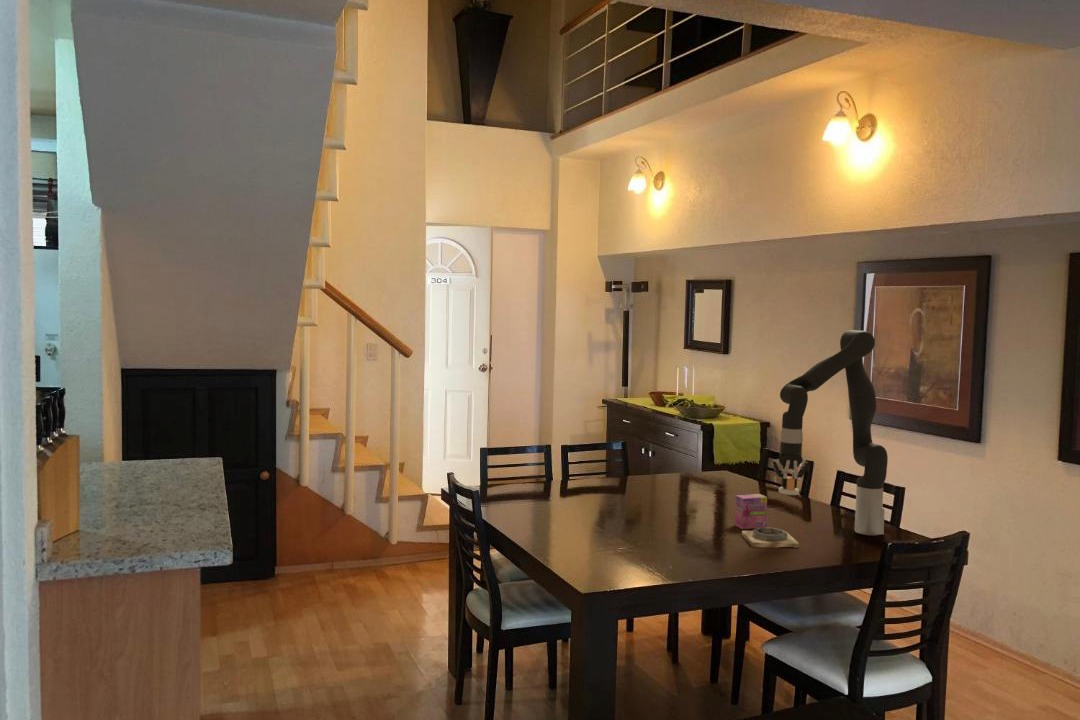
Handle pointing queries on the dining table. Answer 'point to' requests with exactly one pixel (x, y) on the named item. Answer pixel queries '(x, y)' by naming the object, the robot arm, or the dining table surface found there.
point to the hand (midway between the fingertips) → (788, 488)
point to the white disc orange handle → (789, 487)
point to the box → (750, 511)
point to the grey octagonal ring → (765, 531)
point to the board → (762, 543)
